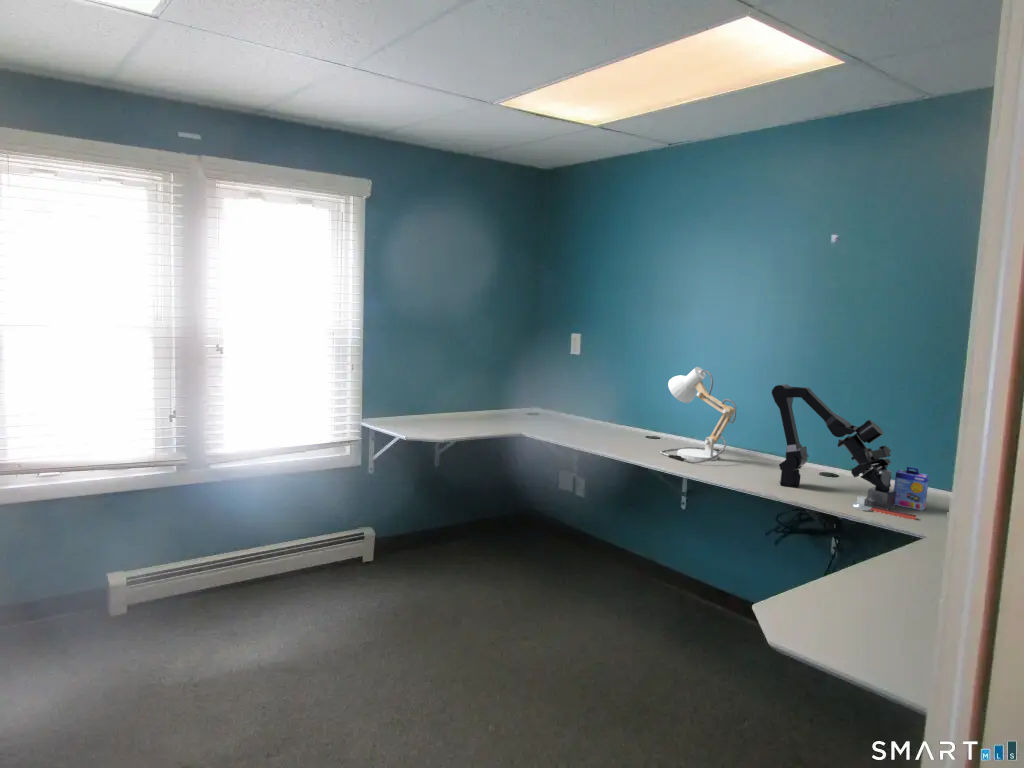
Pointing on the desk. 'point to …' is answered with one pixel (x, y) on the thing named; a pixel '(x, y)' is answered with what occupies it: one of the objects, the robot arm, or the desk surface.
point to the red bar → (863, 505)
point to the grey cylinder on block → (882, 492)
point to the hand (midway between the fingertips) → (886, 487)
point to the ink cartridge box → (911, 489)
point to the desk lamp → (686, 392)
